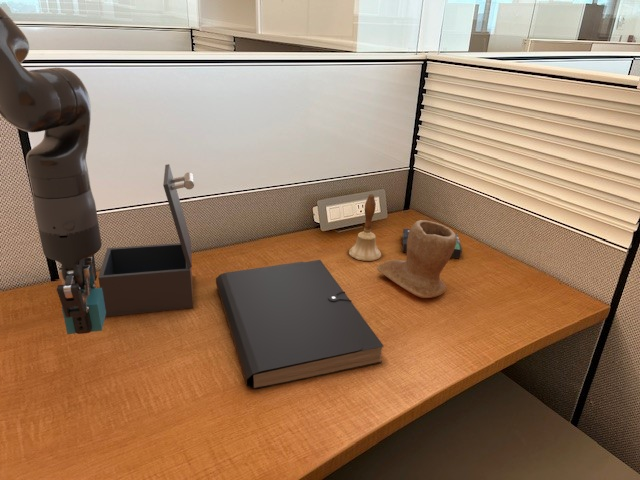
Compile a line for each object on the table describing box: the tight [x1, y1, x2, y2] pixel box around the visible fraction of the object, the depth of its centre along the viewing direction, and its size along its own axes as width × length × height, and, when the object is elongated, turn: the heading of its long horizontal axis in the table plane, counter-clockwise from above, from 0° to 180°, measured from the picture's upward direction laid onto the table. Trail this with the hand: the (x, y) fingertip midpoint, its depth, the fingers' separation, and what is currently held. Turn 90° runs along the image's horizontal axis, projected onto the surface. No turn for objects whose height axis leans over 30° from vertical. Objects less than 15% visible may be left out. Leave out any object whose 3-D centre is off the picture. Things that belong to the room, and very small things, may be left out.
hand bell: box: [348, 194, 382, 262], centre depth 119 cm, size 8×8×16 cm
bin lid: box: [162, 164, 195, 269], centre depth 95 cm, size 17×13×5 cm
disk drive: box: [402, 228, 463, 259], centre depth 127 cm, size 10×3×15 cm
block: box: [61, 287, 106, 335], centre depth 73 cm, size 5×5×5 cm
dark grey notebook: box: [215, 259, 384, 390], centre depth 93 cm, size 33×4×24 cm
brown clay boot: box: [376, 219, 457, 299], centre depth 106 cm, size 15×12×15 cm
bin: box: [97, 242, 194, 318], centre depth 99 cm, size 17×13×9 cm
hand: (87, 321), depth 74 cm, fingers closed on block, 4 cm apart
